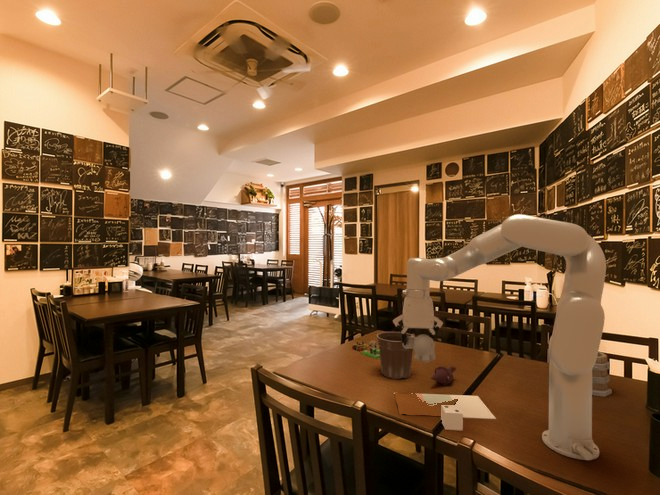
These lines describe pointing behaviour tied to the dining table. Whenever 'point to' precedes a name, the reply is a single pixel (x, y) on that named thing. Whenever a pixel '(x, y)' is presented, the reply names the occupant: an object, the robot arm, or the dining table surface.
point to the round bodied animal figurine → (421, 347)
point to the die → (451, 417)
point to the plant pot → (394, 355)
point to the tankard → (600, 376)
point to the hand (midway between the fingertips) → (417, 344)
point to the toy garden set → (372, 353)
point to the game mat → (461, 404)
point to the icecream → (443, 375)
